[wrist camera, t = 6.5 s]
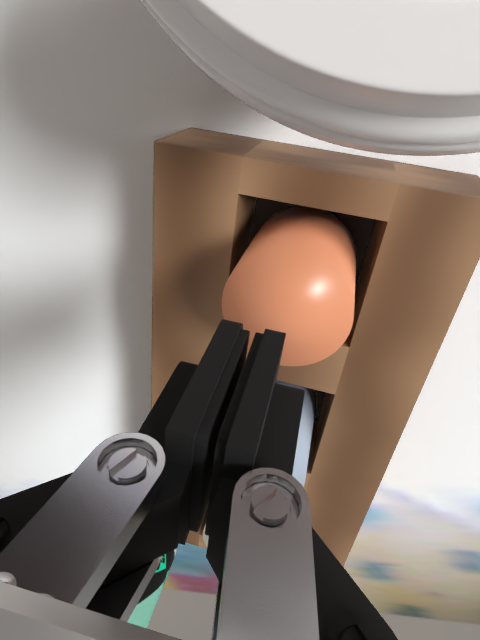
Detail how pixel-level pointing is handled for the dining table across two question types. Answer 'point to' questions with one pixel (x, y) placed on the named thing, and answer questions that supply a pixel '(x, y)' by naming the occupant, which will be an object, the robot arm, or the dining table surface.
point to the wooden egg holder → (370, 295)
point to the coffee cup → (344, 66)
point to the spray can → (152, 592)
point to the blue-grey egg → (303, 433)
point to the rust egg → (296, 284)
